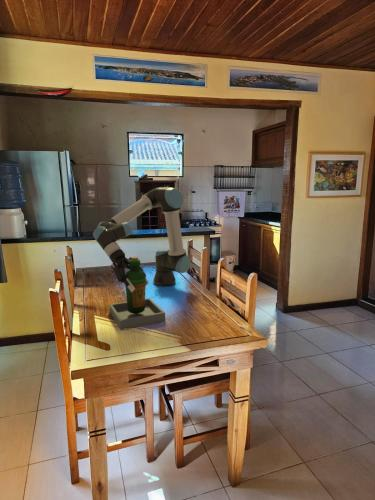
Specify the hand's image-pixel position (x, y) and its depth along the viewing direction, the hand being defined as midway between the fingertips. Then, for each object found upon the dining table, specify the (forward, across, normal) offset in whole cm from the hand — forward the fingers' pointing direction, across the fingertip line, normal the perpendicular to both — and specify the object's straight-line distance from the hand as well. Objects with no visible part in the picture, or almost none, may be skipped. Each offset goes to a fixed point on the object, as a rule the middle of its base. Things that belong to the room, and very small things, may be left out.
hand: (140, 287), depth 158 cm
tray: (+9, 0, -14) cm, 16 cm away
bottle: (+7, 0, -12) cm, 14 cm away
